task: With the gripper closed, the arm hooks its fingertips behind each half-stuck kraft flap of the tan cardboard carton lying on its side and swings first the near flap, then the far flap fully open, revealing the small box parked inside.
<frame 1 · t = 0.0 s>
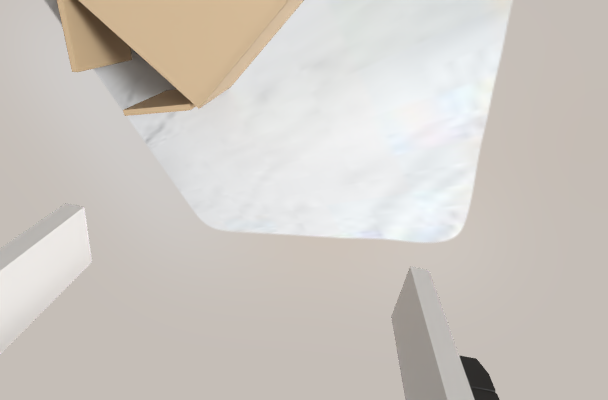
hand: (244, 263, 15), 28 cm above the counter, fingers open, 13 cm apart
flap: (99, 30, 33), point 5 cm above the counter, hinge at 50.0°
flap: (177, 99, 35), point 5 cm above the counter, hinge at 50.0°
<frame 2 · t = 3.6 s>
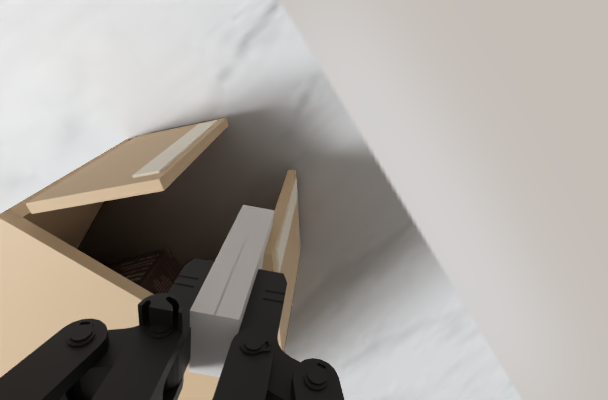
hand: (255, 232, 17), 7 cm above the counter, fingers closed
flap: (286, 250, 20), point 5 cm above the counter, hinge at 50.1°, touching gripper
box: (157, 283, 29), resting in carton
carton: (166, 271, 28), on the counter
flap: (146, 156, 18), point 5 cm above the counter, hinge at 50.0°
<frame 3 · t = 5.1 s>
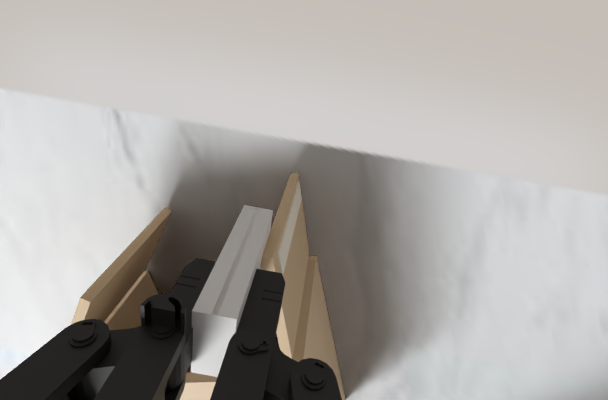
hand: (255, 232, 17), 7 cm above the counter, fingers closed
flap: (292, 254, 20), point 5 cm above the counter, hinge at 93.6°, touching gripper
carton: (250, 340, 31), on the counter
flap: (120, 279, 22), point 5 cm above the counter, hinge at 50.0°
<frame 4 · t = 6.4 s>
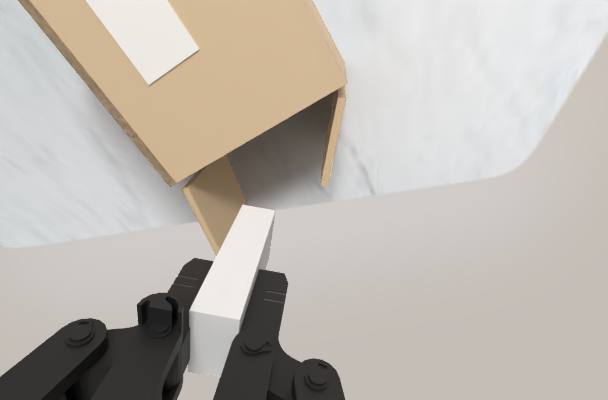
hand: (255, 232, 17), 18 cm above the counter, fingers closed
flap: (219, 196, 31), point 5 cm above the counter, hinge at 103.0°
carton: (220, 18, 29), on the counter
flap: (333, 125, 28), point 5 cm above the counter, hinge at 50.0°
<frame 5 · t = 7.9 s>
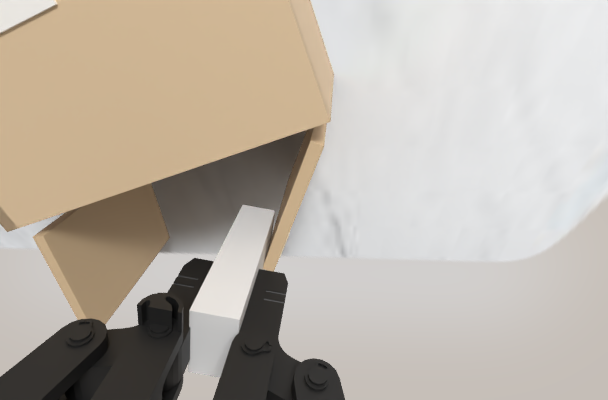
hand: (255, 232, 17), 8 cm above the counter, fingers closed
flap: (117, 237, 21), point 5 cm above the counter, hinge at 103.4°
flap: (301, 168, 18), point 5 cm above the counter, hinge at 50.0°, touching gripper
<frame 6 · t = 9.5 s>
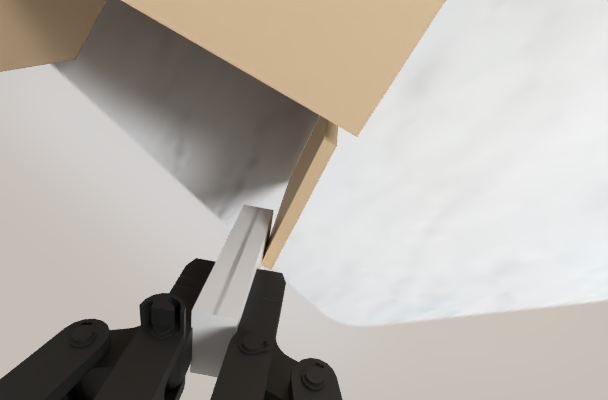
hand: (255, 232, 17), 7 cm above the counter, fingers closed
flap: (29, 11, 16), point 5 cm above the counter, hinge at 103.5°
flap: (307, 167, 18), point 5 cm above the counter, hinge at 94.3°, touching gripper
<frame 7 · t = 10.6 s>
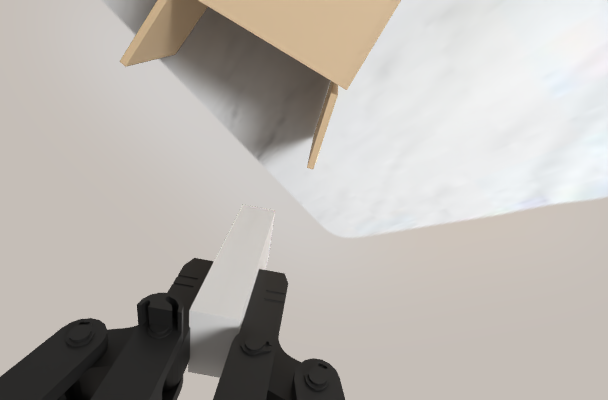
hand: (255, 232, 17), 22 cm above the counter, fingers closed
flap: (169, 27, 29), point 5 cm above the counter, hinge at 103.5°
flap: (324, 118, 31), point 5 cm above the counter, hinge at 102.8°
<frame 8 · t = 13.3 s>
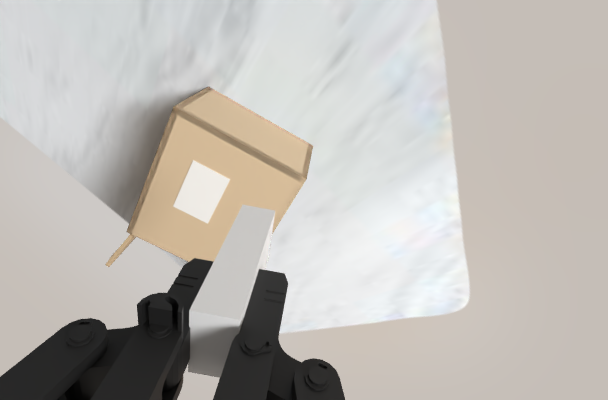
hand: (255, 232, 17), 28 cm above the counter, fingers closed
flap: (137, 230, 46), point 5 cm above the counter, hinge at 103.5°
carton: (235, 170, 47), on the counter
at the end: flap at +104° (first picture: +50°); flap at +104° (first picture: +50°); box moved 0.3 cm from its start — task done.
